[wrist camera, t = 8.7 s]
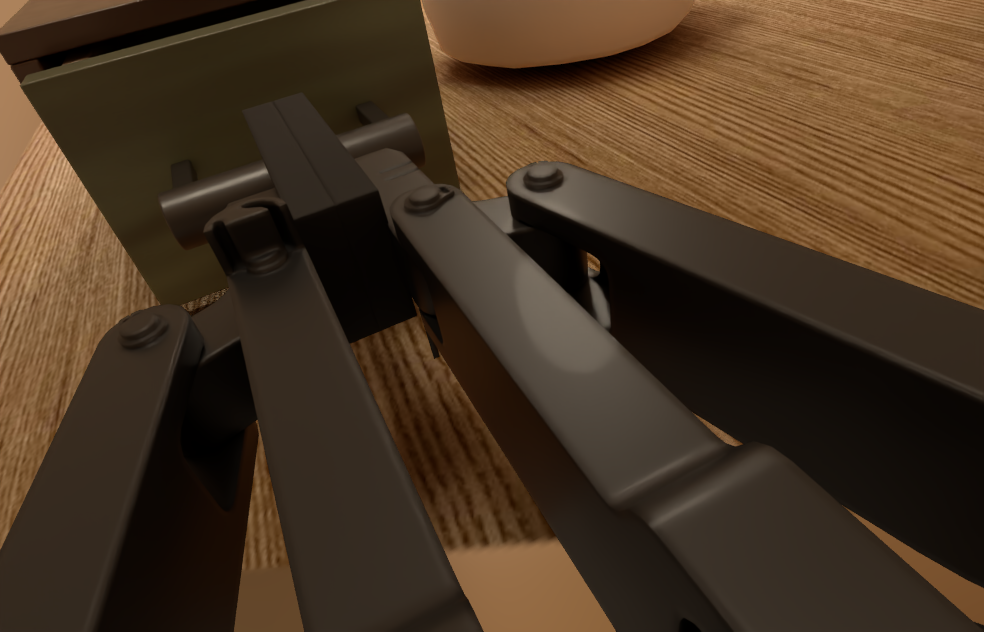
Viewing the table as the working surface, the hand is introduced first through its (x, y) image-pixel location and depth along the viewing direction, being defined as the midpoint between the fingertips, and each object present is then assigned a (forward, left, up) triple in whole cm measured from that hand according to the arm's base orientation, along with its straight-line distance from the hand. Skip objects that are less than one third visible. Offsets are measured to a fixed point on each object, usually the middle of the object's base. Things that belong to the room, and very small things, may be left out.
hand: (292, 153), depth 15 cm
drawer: (0, +9, -6) cm, 11 cm away
